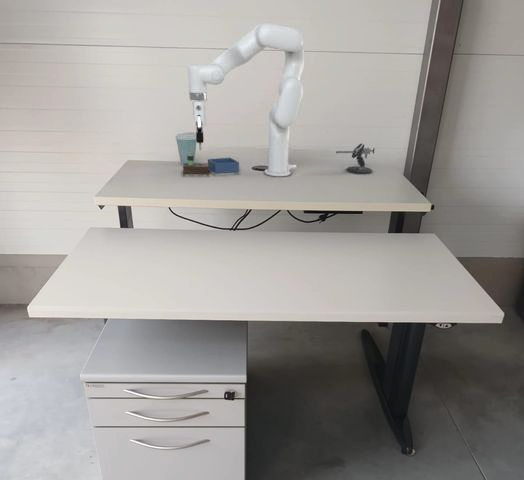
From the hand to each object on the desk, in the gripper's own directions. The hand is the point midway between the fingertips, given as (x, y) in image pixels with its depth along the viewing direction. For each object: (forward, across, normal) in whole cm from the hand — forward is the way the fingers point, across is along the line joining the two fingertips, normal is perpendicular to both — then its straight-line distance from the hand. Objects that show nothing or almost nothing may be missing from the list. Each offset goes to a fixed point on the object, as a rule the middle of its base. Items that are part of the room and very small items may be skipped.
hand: (200, 141), depth 229 cm
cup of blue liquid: (+15, +20, +7) cm, 26 cm away
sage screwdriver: (+14, 0, +5) cm, 15 cm away
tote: (+15, +4, -11) cm, 19 cm away
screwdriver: (+4, 0, 0) cm, 4 cm away
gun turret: (+16, +9, -77) cm, 79 cm away
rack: (+15, 0, +3) cm, 15 cm away
